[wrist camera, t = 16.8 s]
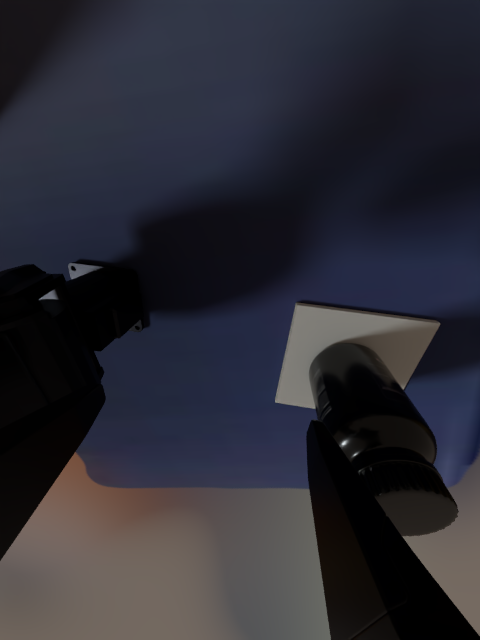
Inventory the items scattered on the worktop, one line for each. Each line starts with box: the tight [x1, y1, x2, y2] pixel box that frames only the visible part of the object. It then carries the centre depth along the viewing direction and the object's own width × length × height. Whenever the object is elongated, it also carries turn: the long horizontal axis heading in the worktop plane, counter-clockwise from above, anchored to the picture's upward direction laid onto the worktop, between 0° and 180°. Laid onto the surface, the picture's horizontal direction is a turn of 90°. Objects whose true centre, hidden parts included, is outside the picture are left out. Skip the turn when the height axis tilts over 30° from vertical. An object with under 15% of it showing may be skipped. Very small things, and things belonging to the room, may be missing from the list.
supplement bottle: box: [309, 343, 458, 536], centre depth 17 cm, size 7×7×12 cm
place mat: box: [275, 302, 440, 409], centre depth 23 cm, size 12×12×1 cm
